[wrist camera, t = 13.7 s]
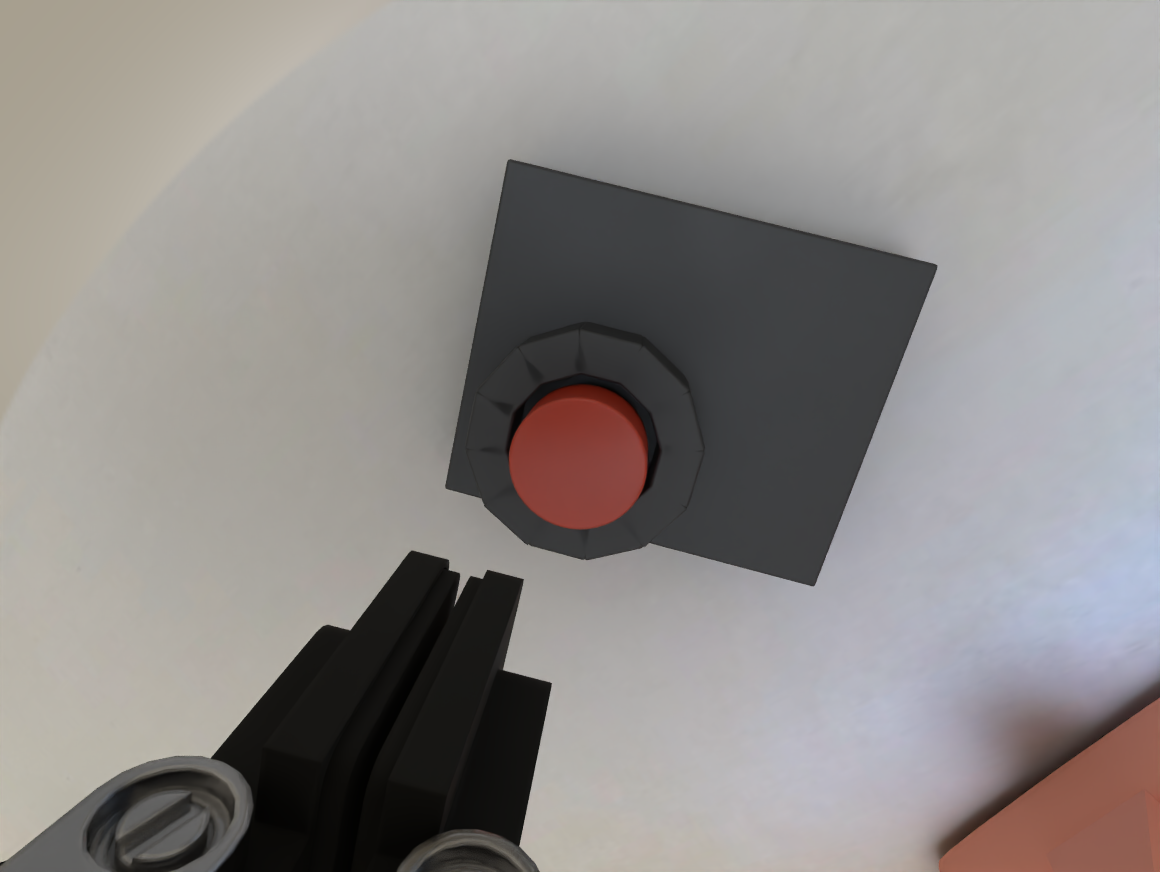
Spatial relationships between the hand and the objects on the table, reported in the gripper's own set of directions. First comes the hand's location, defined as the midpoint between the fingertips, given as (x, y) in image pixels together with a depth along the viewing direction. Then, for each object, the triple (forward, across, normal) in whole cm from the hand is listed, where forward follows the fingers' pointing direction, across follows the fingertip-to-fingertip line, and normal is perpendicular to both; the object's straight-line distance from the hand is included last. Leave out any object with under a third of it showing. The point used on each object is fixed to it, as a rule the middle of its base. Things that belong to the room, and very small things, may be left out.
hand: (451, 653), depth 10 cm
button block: (+13, -3, -2) cm, 14 cm away
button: (+10, -1, 0) cm, 10 cm away
